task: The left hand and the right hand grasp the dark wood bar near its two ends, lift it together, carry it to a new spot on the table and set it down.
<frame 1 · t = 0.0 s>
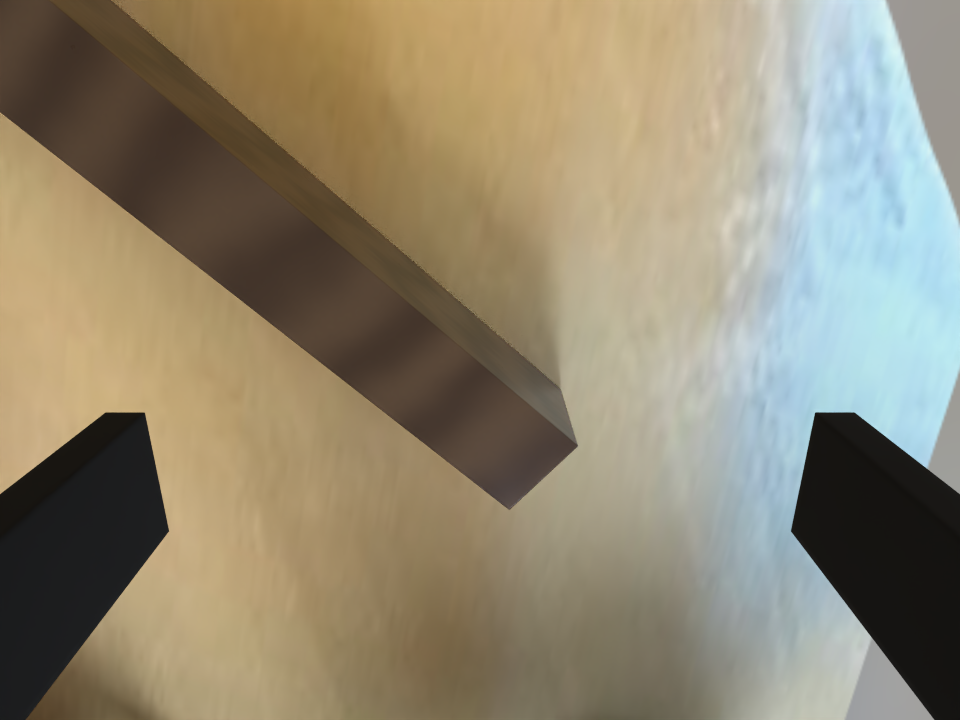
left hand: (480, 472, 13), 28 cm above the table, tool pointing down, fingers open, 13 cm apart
bar: (162, 107, 36), on the table
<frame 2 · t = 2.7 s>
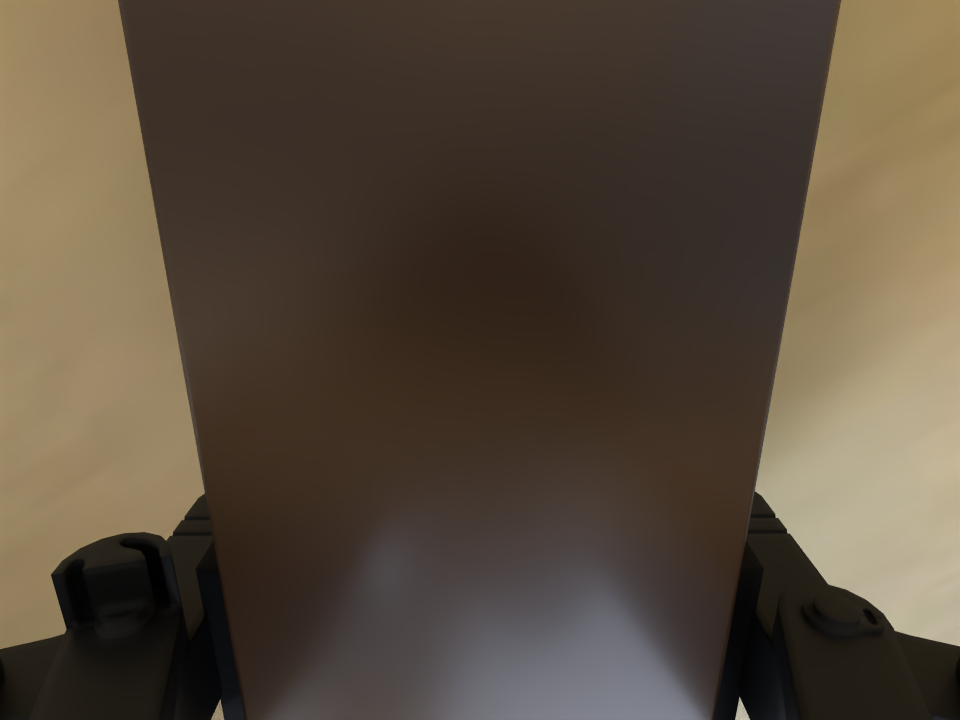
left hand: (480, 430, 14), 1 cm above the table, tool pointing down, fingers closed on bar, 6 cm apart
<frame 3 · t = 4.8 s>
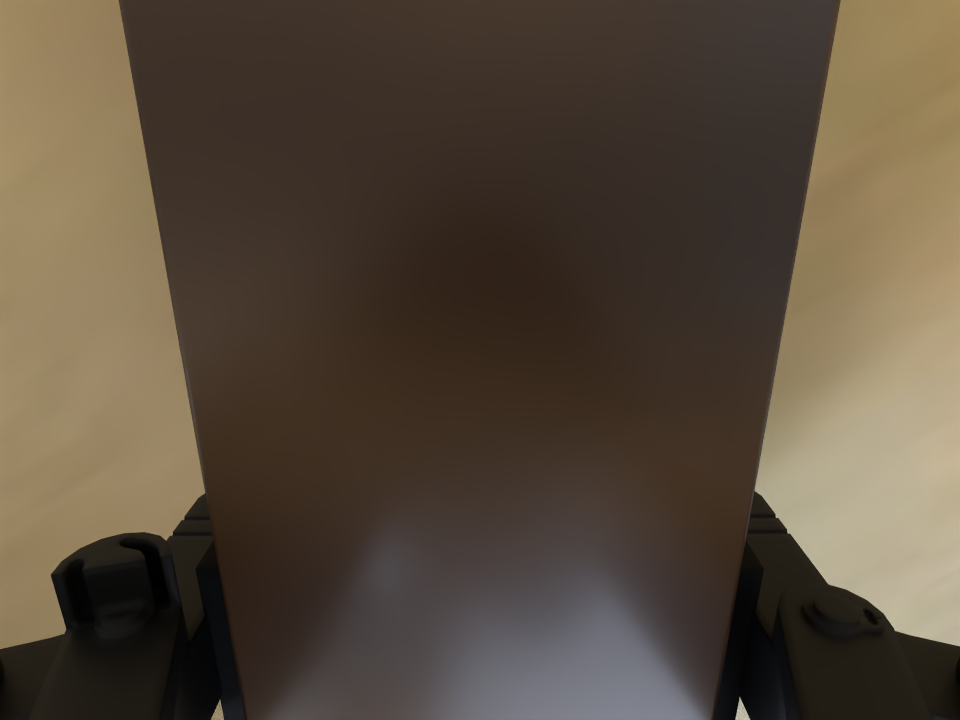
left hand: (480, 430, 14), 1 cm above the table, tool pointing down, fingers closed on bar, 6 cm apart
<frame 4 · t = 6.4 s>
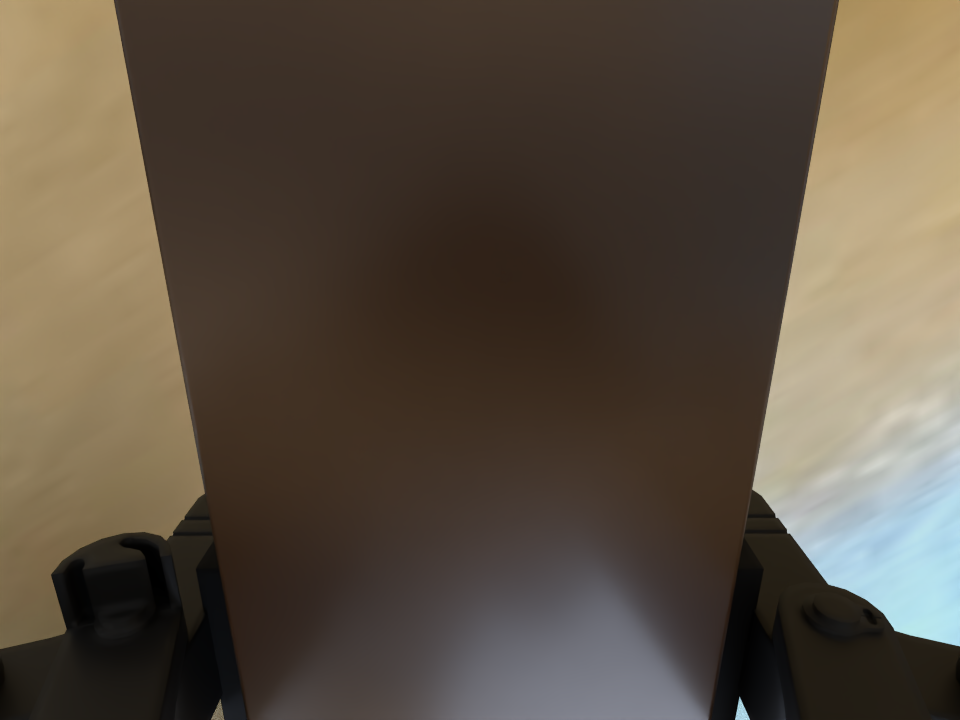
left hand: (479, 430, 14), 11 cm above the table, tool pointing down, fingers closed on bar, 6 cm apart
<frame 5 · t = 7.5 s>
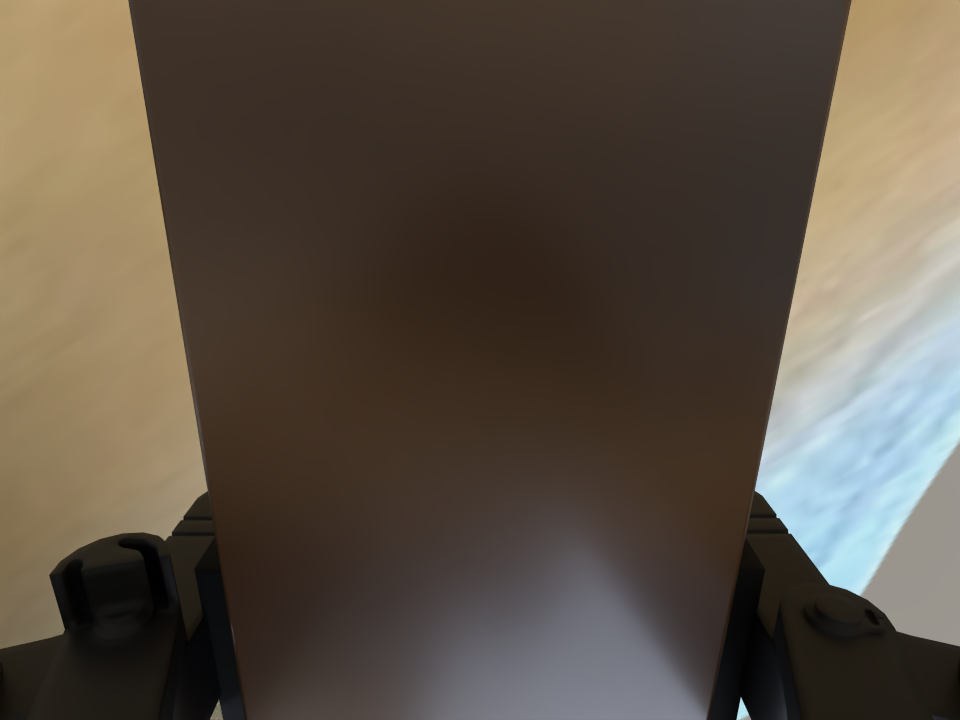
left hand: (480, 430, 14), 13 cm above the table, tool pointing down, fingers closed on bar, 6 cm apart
when the left hand's fingers open (2 cm above the table, at t = 10.2 s): bar drops 1 cm, held by the right hand.
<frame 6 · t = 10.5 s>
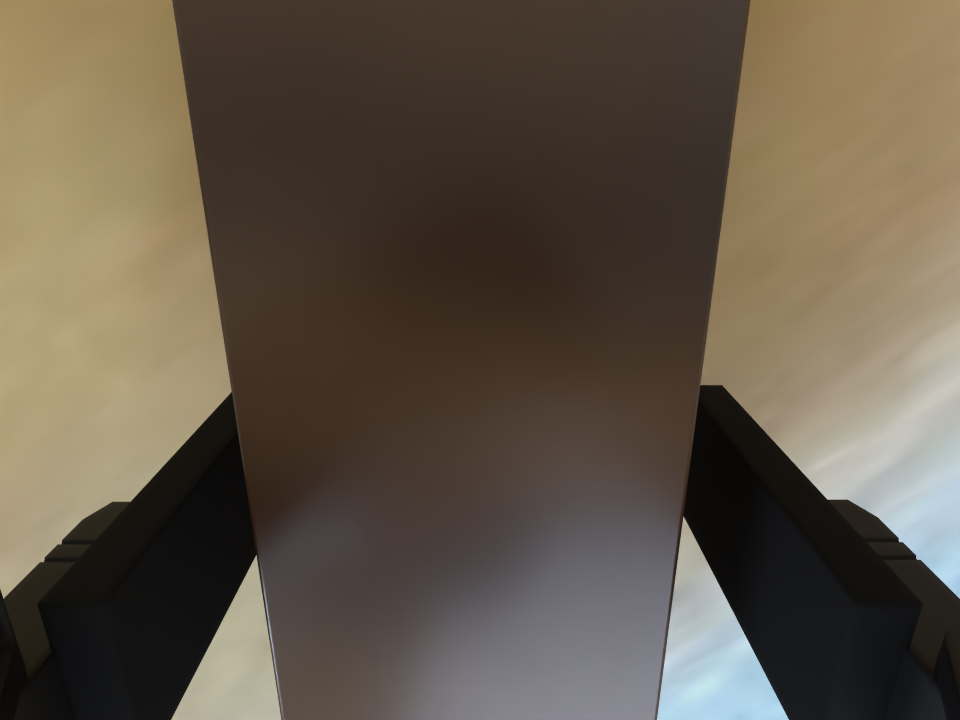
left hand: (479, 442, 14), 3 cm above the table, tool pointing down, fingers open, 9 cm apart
when the right hand's fingers open (4 cm above the table, at t = 10.5 s): bar stays where it is, on the table.
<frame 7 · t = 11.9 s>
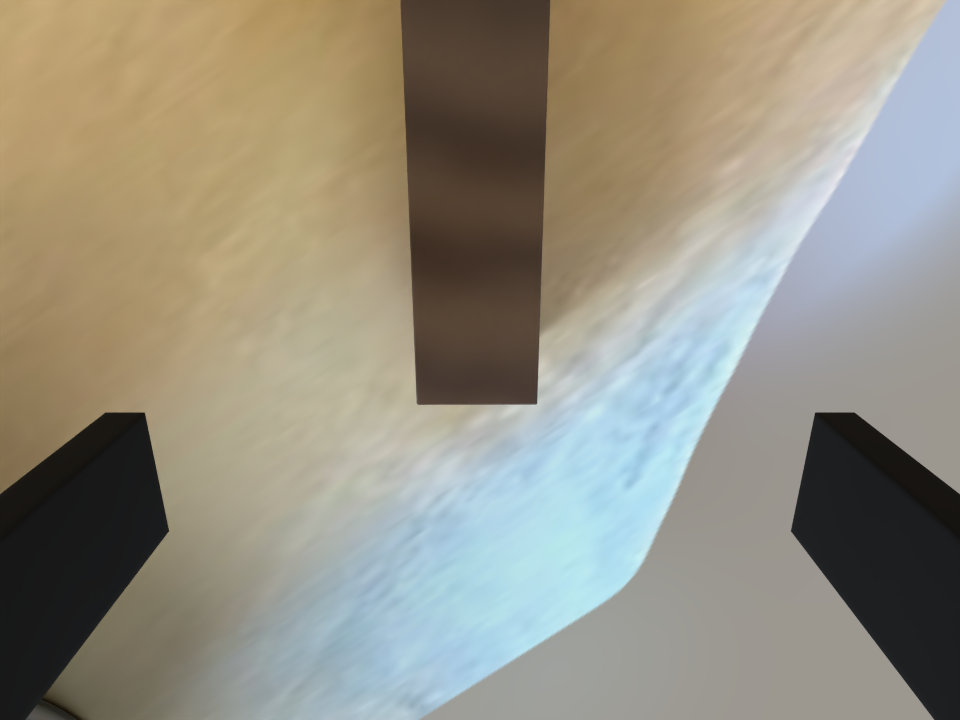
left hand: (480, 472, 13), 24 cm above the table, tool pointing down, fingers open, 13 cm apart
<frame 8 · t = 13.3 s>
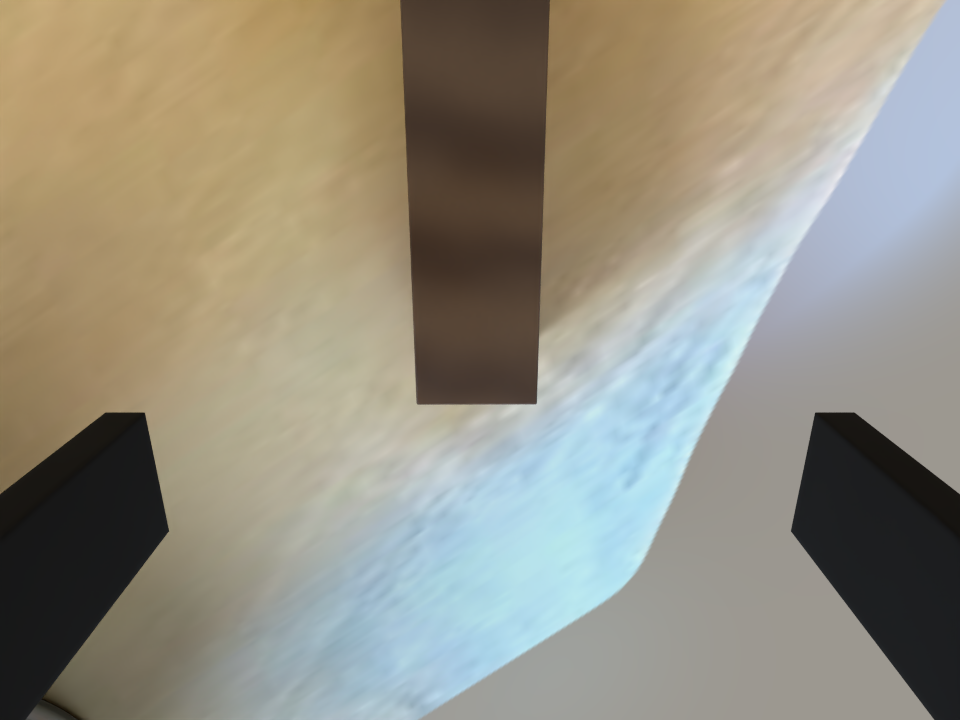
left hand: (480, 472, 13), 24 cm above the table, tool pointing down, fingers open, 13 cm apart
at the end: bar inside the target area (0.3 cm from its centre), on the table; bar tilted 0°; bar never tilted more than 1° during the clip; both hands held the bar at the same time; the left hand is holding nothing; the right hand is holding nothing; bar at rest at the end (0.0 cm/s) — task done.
